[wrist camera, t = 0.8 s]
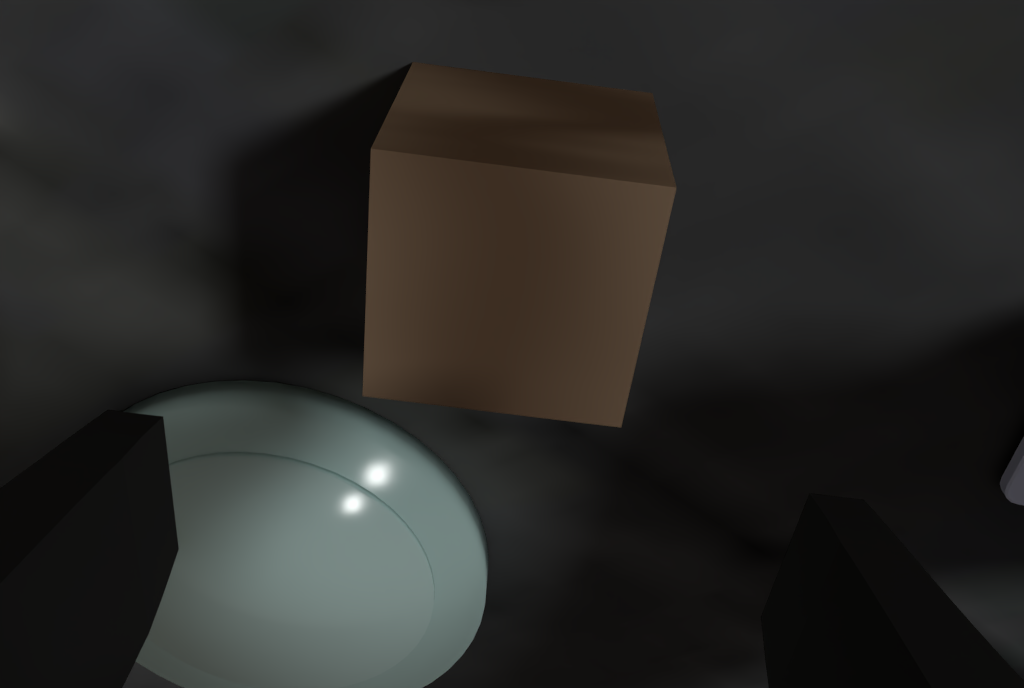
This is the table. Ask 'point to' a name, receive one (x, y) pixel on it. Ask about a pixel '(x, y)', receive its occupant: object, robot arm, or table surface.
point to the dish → (309, 545)
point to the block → (513, 243)
